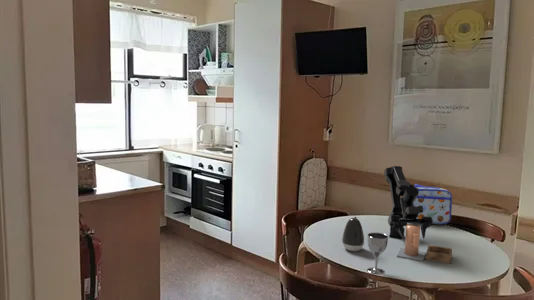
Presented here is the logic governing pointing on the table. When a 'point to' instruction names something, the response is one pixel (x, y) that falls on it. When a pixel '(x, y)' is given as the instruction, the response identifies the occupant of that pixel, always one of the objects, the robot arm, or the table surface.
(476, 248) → the table surface
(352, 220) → the dark grey egg shape
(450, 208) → the lunch box
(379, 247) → the wine glass
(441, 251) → the holder
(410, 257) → the mat
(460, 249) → the table surface
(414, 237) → the tan dome with tab
